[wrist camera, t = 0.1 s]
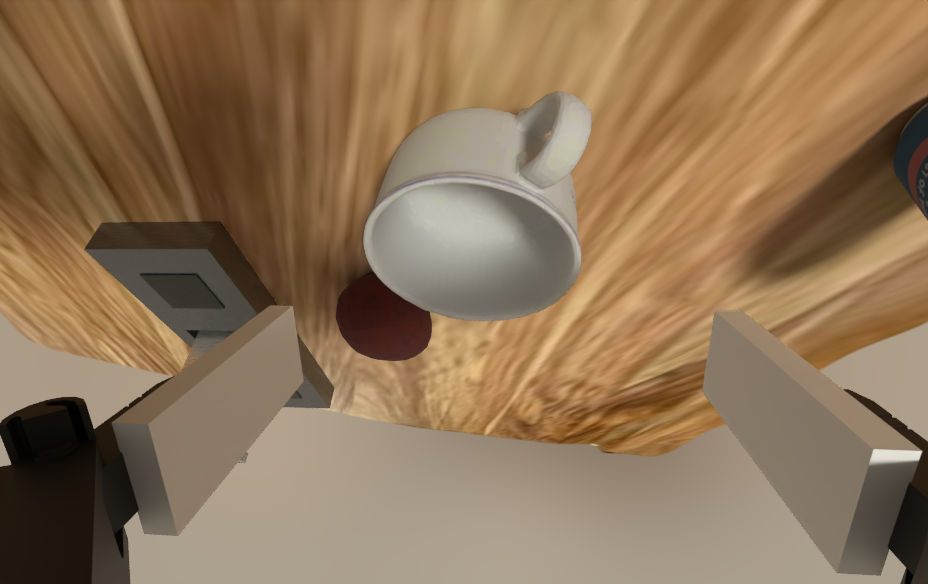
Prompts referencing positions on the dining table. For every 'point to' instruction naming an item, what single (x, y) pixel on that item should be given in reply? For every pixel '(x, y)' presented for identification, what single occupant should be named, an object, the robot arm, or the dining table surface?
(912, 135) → the soda can
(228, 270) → the grey board with recesses
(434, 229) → the teacup
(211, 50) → the dining table surface
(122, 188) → the dining table surface
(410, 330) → the potato
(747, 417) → the robot arm
